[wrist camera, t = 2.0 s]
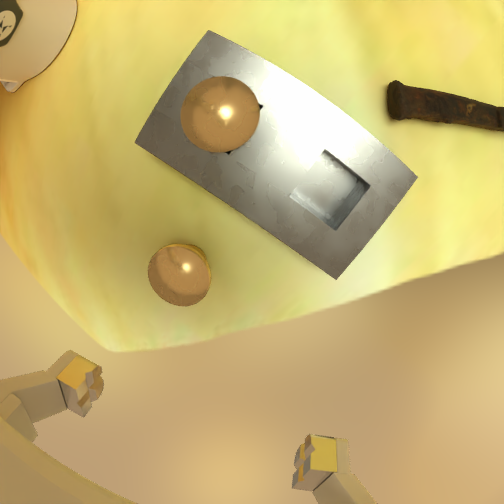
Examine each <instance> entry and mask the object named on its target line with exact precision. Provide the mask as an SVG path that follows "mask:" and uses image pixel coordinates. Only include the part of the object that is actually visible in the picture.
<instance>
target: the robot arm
mask: <svg viewBox="0 0 504 504" xmlns="http://www.w3.org/2000/svg"><path fill="white" fill-rule="evenodd" d="M76 12H77V2H76V0H0V81H1V83H2V84H3V86H4V87H5V89H6V90H7V91H8V92H15V91H16V90H17V89H18V88H19V87H20V86H21V85H22V84H23V83H24V82H25V81H26V80H28V79H30V78H32V77H34V76H36V75H38V74H39V73H40V72H42V71H43V70H44V69H45V68H46V67H47V66H48V65H49V64H50V63H51V62H52V61H53V60H54V58H55V57H56V56H57V54H58V53H59V51H60V50H61V48H62V47H63V45H64V44H65V42H66V40H67V38H68V36H69V34H70V32H71V29H72V27H73V24H74V21H75V17H76ZM101 373H102V368H101V366H99V365H97V364H95V363H93V362H91V361H90V360H88V359H86V358H84V357H82V356H81V355H79V354H77V353H75V352H73V351H72V350H69V351H66V352H65V353H64V354H63V355H62V356H61V357H60V358H59V359H58V360H57V361H56V362H55V363H54V364H53V365H52V366H51V367H50V368H49V369H48V370H47V371H46V372H45V371H44V370H42V371H38V372H33V373H30V374H25V375H21V376H16V377H11V378H7V379H2V380H0V504H137V503H135V502H133V501H130V500H128V499H126V498H124V497H121V496H119V495H117V494H115V493H113V492H111V491H109V490H107V489H105V488H103V487H101V486H99V485H98V484H96V483H94V482H92V481H90V480H88V479H87V478H85V477H83V476H81V475H80V474H78V473H76V472H75V471H73V470H71V469H70V468H68V467H67V466H65V465H63V464H62V463H60V462H59V461H57V460H56V459H54V458H53V457H51V456H50V455H48V454H47V453H46V452H44V451H43V450H41V449H40V448H39V447H37V446H36V445H35V444H33V443H32V442H33V441H34V440H35V438H36V437H37V436H38V435H37V431H36V430H35V428H34V426H33V424H32V423H35V422H37V421H40V420H42V419H45V418H47V417H49V416H52V415H55V414H57V413H60V412H62V411H64V410H67V408H68V409H69V410H71V411H73V412H75V413H77V414H78V415H80V416H82V417H85V415H86V414H87V413H88V411H89V410H90V409H91V407H92V404H91V402H92V401H95V400H97V399H98V398H99V397H100V395H101V393H102V391H103V386H104V383H103V379H102V377H101V376H100V375H101ZM294 466H295V468H296V469H297V471H296V472H295V473H294V474H293V482H292V488H294V489H299V490H306V491H313V494H314V496H315V498H316V500H317V502H318V504H377V502H376V501H375V500H374V499H373V497H372V496H371V495H370V494H369V492H368V491H367V490H366V488H365V487H364V486H363V485H362V483H361V482H360V481H359V480H358V478H357V477H356V476H355V474H351V470H350V456H349V444H348V440H347V439H341V438H334V437H327V436H320V435H313V434H309V435H308V436H307V437H306V438H305V443H304V444H301V445H300V447H299V448H298V450H297V453H296V456H295V462H294Z"/></svg>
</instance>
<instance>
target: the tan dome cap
mask: <svg viewBox="0 0 504 504" xmlns="http://www.w3.org/2000/svg"><path fill="white" fill-rule="evenodd" d="M148 277H149V281H150V283H151V286H152V288H153V289H154V291H155V292H156V293H157V294H158V295H159V296H160V297H161V298H162V299H164V300H165V301H167V302H169V303H171V304H174V305H178V306H190V305H193V304H196V303H198V302H199V301H201V300H202V299H203V298H204V296H205V295H206V293H207V291H208V289H209V287H210V284H211V271H210V268H209V265H208V263H207V261H206V257H205V254H204V253H203V251H202V250H201V249H200V248H198V247H197V246H194V245H182V244H171V245H167V246H165V247H163V248H161V249H160V250H159V251H158V252H157V253H155V255H154V256H153V257H152V259H151V260H150V263H149V266H148Z"/></svg>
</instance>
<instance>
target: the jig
mask: <svg viewBox="0 0 504 504" xmlns="http://www.w3.org/2000/svg"><path fill="white" fill-rule="evenodd" d="M135 143H136V144H137V145H139V146H141V147H142V148H144V149H145V150H147V151H148V152H150V153H151V154H153V155H154V156H156V157H158V158H159V159H161V160H162V161H164V162H165V163H167V164H168V165H170V166H171V167H173V168H174V169H176V170H177V171H179V172H180V173H182V174H183V175H185V176H186V177H188V178H190V179H191V180H193V181H194V182H196V183H197V184H199V185H200V186H202V187H203V188H205V189H206V190H208V191H209V192H210V193H212V194H213V195H215V196H216V197H218V198H219V199H221V200H222V201H224V202H225V203H227V204H228V205H230V206H231V207H233V208H234V209H236V210H237V211H239V212H240V213H242V214H243V215H244V216H246V217H247V218H249V219H250V220H252V221H253V222H255V223H256V224H258V225H259V226H260V227H262V228H263V229H265V230H266V231H268V232H269V233H271V234H272V235H273V236H275V237H276V238H278V239H279V240H281V241H282V242H283V243H285V244H286V245H288V246H289V247H291V248H292V249H293V250H295V251H296V252H298V253H299V254H301V255H302V256H303V257H305V258H306V259H308V260H309V261H310V262H312V263H313V264H315V265H316V266H317V267H319V268H320V269H322V270H323V271H324V272H326V273H327V274H329V275H330V276H331V277H333V278H334V279H336V280H337V278H338V277H339V276H340V275H341V274H342V273H343V272H344V270H345V269H346V268H347V267H348V266H349V264H350V263H351V262H352V261H353V260H354V259H355V257H356V256H357V255H358V254H359V253H360V251H361V250H362V249H363V248H364V247H365V245H366V244H367V243H368V242H369V240H370V239H371V238H372V237H373V235H374V234H375V233H376V232H377V230H378V229H379V228H380V227H381V225H382V224H383V223H384V222H385V220H386V219H387V218H388V216H389V215H390V214H391V213H392V211H393V210H394V209H395V207H396V206H397V205H398V203H399V202H400V201H401V199H402V198H403V197H404V195H405V194H406V193H407V191H408V190H409V189H410V187H411V186H412V185H413V183H414V182H415V180H416V179H417V178H418V177H417V176H416V175H415V174H414V173H413V172H412V171H411V170H410V169H409V168H408V167H407V166H406V165H405V164H404V163H403V162H402V161H401V160H400V159H399V158H398V157H396V156H395V155H394V154H393V153H392V152H391V151H390V150H389V149H388V148H387V147H385V146H384V145H383V144H382V143H381V142H380V141H379V140H377V139H376V138H375V137H374V136H373V135H372V134H370V133H369V132H368V131H367V130H366V129H364V128H363V127H362V126H361V125H359V124H358V123H357V122H356V121H354V120H353V119H352V118H351V117H349V116H348V115H347V114H346V113H344V112H343V111H342V110H340V109H339V108H338V107H336V106H335V105H334V104H332V103H331V102H330V101H328V100H327V99H325V98H324V97H323V96H321V95H320V94H318V93H317V92H315V91H314V90H313V89H311V88H310V87H308V86H307V85H305V84H304V83H302V82H301V81H299V80H298V79H296V78H295V77H293V76H291V75H290V74H288V73H287V72H285V71H284V70H282V69H280V68H279V67H277V66H275V65H274V64H272V63H270V62H269V61H267V60H265V59H263V58H262V57H260V56H258V55H256V54H255V53H253V52H251V51H249V50H247V49H246V48H244V47H242V46H240V45H238V44H236V43H234V42H232V41H230V40H228V39H226V38H224V37H222V36H220V35H218V34H216V33H214V32H212V31H210V30H208V31H207V33H206V34H205V35H204V36H203V38H202V39H201V40H200V42H199V43H198V44H197V45H196V47H195V48H194V49H193V51H192V52H191V54H190V55H189V56H188V58H187V59H186V60H185V62H184V63H183V65H182V66H181V68H180V69H179V70H178V72H177V73H176V75H175V76H174V78H173V79H172V81H171V82H170V84H169V85H168V87H167V88H166V90H165V92H164V93H163V95H162V96H161V98H160V99H159V101H158V103H157V104H156V106H155V108H154V109H153V111H152V113H151V114H150V116H149V118H148V119H147V121H146V123H145V125H144V126H143V128H142V130H141V132H140V133H139V135H138V137H137V139H136V141H135Z"/></svg>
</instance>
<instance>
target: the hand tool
mask: <svg viewBox="0 0 504 504" xmlns="http://www.w3.org/2000/svg"><path fill="white" fill-rule="evenodd" d="M387 92H388V108H389V112H390V115H391V117H392V118H393V119H396V120H402V119H405V118H407V119H411V118H418V119H424V120H432V121H435V122H439V121H442V122H444V123H458V124H464V125H470V126H475V127H480V128H485V129H489V130H497V131H504V107H496V106H493V105H490V104H486V103H483V102H479V101H476V100H472V99H469V98H466V97H462V96H458V95H454V94H450V93H445V92H440V91H436V90H430V89H424V88H417V87H411V86H406V85H403V84H402V83H401V82H399V81H397V80H395V81H393V82H390V83H389V87H388V91H387Z"/></svg>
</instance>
